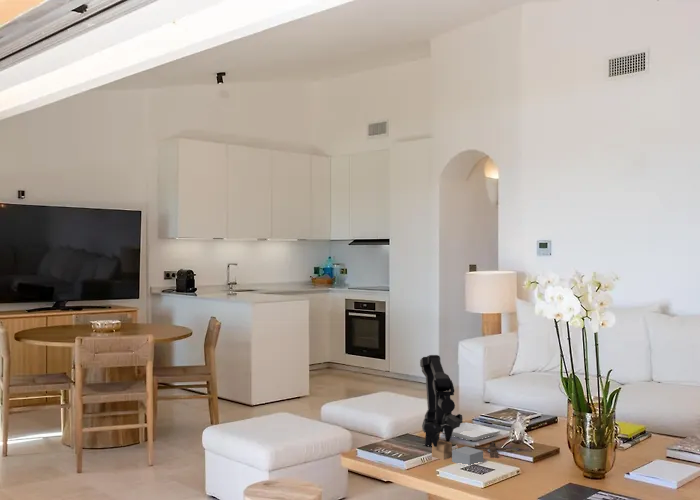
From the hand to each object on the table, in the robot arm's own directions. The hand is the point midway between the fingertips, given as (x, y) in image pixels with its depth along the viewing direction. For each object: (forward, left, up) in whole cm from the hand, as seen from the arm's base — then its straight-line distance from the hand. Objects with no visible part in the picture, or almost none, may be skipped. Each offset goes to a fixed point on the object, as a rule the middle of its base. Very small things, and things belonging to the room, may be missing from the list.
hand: (441, 444), depth 298 cm
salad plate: (-38, -10, -6) cm, 40 cm away
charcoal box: (-1, +12, -5) cm, 13 cm away
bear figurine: (-20, +13, -6) cm, 25 cm away
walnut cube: (0, 0, -5) cm, 5 cm away
